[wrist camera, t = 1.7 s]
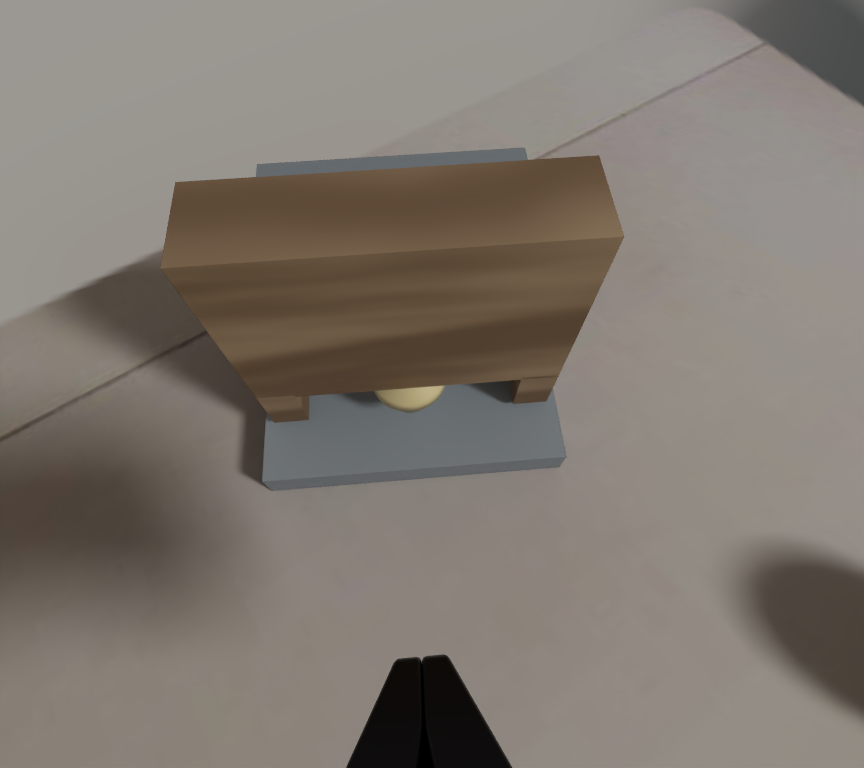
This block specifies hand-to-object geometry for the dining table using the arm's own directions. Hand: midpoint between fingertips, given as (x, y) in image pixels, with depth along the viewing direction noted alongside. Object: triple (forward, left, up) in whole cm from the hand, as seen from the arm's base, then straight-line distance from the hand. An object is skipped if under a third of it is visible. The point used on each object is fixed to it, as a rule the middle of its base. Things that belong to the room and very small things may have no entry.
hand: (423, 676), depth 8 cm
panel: (+8, +7, -12) cm, 16 cm away
